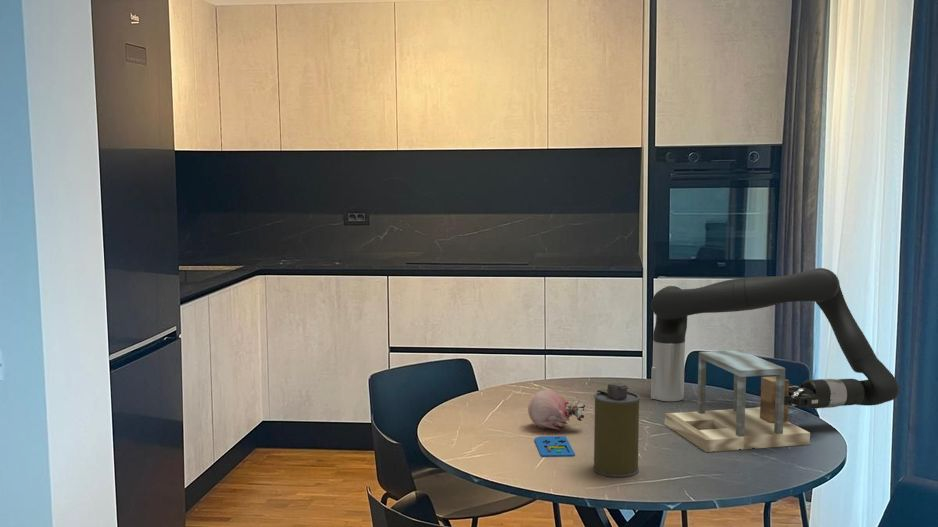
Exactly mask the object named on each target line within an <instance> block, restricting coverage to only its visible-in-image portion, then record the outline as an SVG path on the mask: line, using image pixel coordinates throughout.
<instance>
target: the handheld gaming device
mask: <svg viewBox="0 0 938 527" xmlns="http://www.w3.org/2000/svg"><path fill="white" fill-rule="evenodd" d="M534 443H535V446H536V448H537V450H538V453H539V456H540V457H541V458H562V457H563V458H565V457H568V458H569V457H570V458H572V457H575V456H576V452H575V451H574V449H573V447H572V446H571V443H570V441H569V439H567V437H566V435H555V436H554V435H552V436H551V435H549V436H547V435H545V436H544V435H543V436H542V435H541V436H537V437H534Z"/></svg>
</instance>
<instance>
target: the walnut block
mask: <svg viewBox="0 0 938 527" xmlns="http://www.w3.org/2000/svg"><path fill="white" fill-rule="evenodd" d="M789 384H790V380H789V379H786V378H785V393H784V396H789ZM760 388H761V397H760V405H759V407H760V418H761V419H763V420H764V421H766V422H768V423H775V398H776V375H771V376H760ZM788 416H789V405H784V419H783V422H789V420H788V419H789V417H788Z"/></svg>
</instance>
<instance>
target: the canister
mask: <svg viewBox="0 0 938 527" xmlns="http://www.w3.org/2000/svg"><path fill="white" fill-rule="evenodd" d="M628 389H629V386H628V385H625V384H623V383H621V382H614V383H609V384H607V389H605V388H604V389H603V388H602V389H598V390H597V391H596V393H594V394H593V398H594V430H593V431H594V432H593V433H594V434H593V436H594V439H593V445H594V446H593V451H594V452H593V466H592V470H593V471H594V473H597V474H599V475H600V476H605V477H609V478H627V477H632V476H635V475H637V474H638V473H639V471H640V467H639V436H640V435H639V432H640V431H639V429H640V428H639V426H640V425H639V423H640V400H641V395H639V394H638V393H635V392H632V391H630V390H629V391H628Z"/></svg>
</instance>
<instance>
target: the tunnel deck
mask: <svg viewBox="0 0 938 527" xmlns="http://www.w3.org/2000/svg"><path fill="white" fill-rule="evenodd" d="M707 362H708V363H710V364H712V365H714V366H716V367H718V368H721V369H723V370H725V371H727V372H729V373H731V374H733V394H732V395H733V398H732V399H733V401H732V408H728V409H714V410H706V392H707V390H706V387H707ZM697 367H698V369H697V370H698V371H697V373H698V374H697V405H696V406H697V409H696V411H682V412H666V413H664V426H666V427H667V428H669V429H670V430H673V431H674V432H676V433H677V434H678V435H679V436H681V437H683V438H684V439H686V440H688V442H690V443H692V444H693V445H694V444H695V446H696V447H697V446H698V447H697V448H699V449H700V450H702V451H704V452H705V453H711V452H712V453H713V451H714V452H726V451H739V449H741V450H750V449H751V450H753V449H752V448H755V449H765V448H767V449H768V448H777V447H778V448H781V447H793V446H794V447H795V446H805V445H807V446H808V445H811V444H810V443H811V442H810V440H811V432H810V431H808V430H806V429H804V428H801V427H800V426H797V425H796V424H794V423H791V422H790V421H788V422H783V419H784V393H785V379H786V368H785V367H784V366H781V365H778V364H775V363H774V362H771V361H769V360H766V359H763V358H761V357H758V356H756V355H753V354H751V353H749V352H746V351H744V350H741V349H733V350H732V349H731V350H729V349H728V350H713V351H711V350H710V351H699V352H698V366H697ZM766 376H776V398H775V423H768V422H766V421H764V420H763V419H761V418H760V406H758V407H746V388H747V386H746V385H747V377H766Z"/></svg>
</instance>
